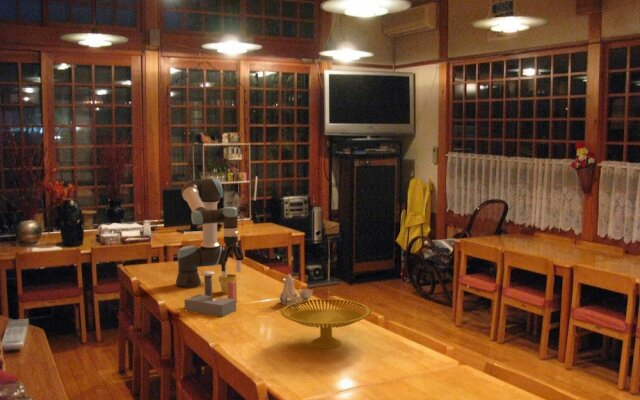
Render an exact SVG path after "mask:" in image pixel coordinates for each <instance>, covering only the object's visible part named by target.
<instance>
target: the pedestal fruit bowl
mask: <svg viewBox="0 0 640 400" xmlns="http://www.w3.org/2000/svg"><path fill="white" fill-rule="evenodd" d="M295 303H296V304H297V305H298V306H299V307H297V306H296V304H295ZM299 303H300V304H301V305H299V304H298V302H294V303H291V304H289V305H285V306H283V307H282V308H281V309H280V314H281V316H283V318H285V319H287V320H290V321H292V322H295V323H297V324H299V325H301V326H306V327H311V328H317V329H318V328H319V329H320V332H319V337H316V338H315V339H312V340H311V341H310V345H311V346H312V347H315V348H316V349H326V350H327V349H335V348H338V347H340V346H341V345H342V344H343V343H342V341H341V340H340V339H338V338H336V337H333V336H332V335H333V334H332V333H333V332H332V331H333V329H334V328H340V327H346V326H349V325H352V324H355V323H357V322H360V321H362V320H364V319H367V318H369V316H370V315H371V314H372V309H371V308H370V307H369V306H367V305H366V304H364V303H363V304H362V303H360V302H356V301H353V300H348V299H341V298H339V299H338V298H314V299H308V300H302V301H300V302H299ZM292 304H293V305H294V306H295V307H296V308H297V309H296V308H295V307H294V306H293V305H292ZM290 305H291V306H292V307H293V308H294V309H293V308H292V307H291V306H290ZM289 307H290V308H289Z"/></svg>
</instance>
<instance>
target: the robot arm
mask: <svg viewBox="0 0 640 400" xmlns="http://www.w3.org/2000/svg"><path fill="white" fill-rule="evenodd" d="M181 196H182V199H183V200H184V201H185V202H187V204H188V206H189V208H190V210H191V214H190V215H191V217H190V218H191V223H192V224H193V225H202V242H201V243H200V247H198V246H197V245H188V246H187V245H186V246H183V247H180V248H179V249H178V250H177V271H178V272H177V276H176V280H175V287H177V288H183V289H184V288H196V287H200V286H202V280H201V276H200V274H199V268H202V267H214V266H219V265H220V266H221V269H220V270H221V275H222V277H227V274H228V266H227V262H228V260H229V257H230V255H231V254H232V253H233V255H234V257H235V258H236V260H235V264H236V265H235V266H236V273H242V261H243V260H244V253H243V251H242V248H241V243H240V242H239V237H238V234H239V233H238V229H239V228H238V208H237V207H236V206H224V207H222V208H219V209H218V203H219V202H220V200H221V198H222V197H223V196H224V192H223V186H222V182H221V181H220V179H218V178H198V179H197V178H196V179H195V178H193V179H190V180H188V181H187V182H186V183H185V184H184V185H183V186H182V189H181ZM218 224H223V243H224V244H225V245H224V246H223V245H222V246H221V245H220V243H219V241H218Z"/></svg>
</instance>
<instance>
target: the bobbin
mask: <svg viewBox="0 0 640 400" xmlns="http://www.w3.org/2000/svg"><path fill="white" fill-rule="evenodd" d="M215 274H216V273H215V271H213V270H205V271H201V276H204V277H203V278H204V295H206V296H213V276H214V275H215ZM214 300H217V298H216V299H215V298H213V301H214Z"/></svg>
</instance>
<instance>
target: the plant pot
mask: <svg viewBox="0 0 640 400" xmlns="http://www.w3.org/2000/svg"><path fill="white" fill-rule="evenodd" d="M229 281H236V282H237V281H238V276H237V274H234V273H227V277H222V274H220V275H219V276H218V282H219V284H220V289H221V292H222V294H227V295H228V292H227V282H229Z"/></svg>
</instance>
